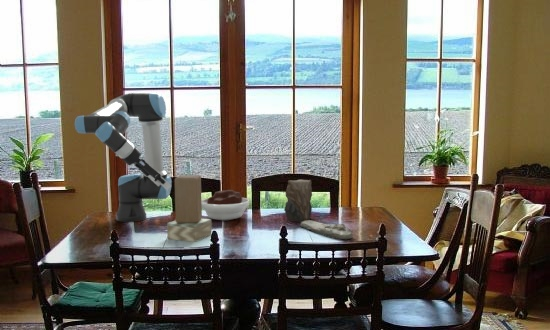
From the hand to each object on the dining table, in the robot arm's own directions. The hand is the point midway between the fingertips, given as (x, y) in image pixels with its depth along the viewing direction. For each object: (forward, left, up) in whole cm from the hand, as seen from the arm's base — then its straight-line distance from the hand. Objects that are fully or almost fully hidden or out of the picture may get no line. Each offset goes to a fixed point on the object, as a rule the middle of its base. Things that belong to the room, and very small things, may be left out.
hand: (164, 186), depth 235 cm
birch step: (+7, +8, -23) cm, 26 cm away
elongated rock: (+60, +38, -24) cm, 75 cm away
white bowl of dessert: (+3, +48, -24) cm, 54 cm away
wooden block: (+7, +8, -17) cm, 20 cm away
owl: (+40, +59, -24) cm, 75 cm away
